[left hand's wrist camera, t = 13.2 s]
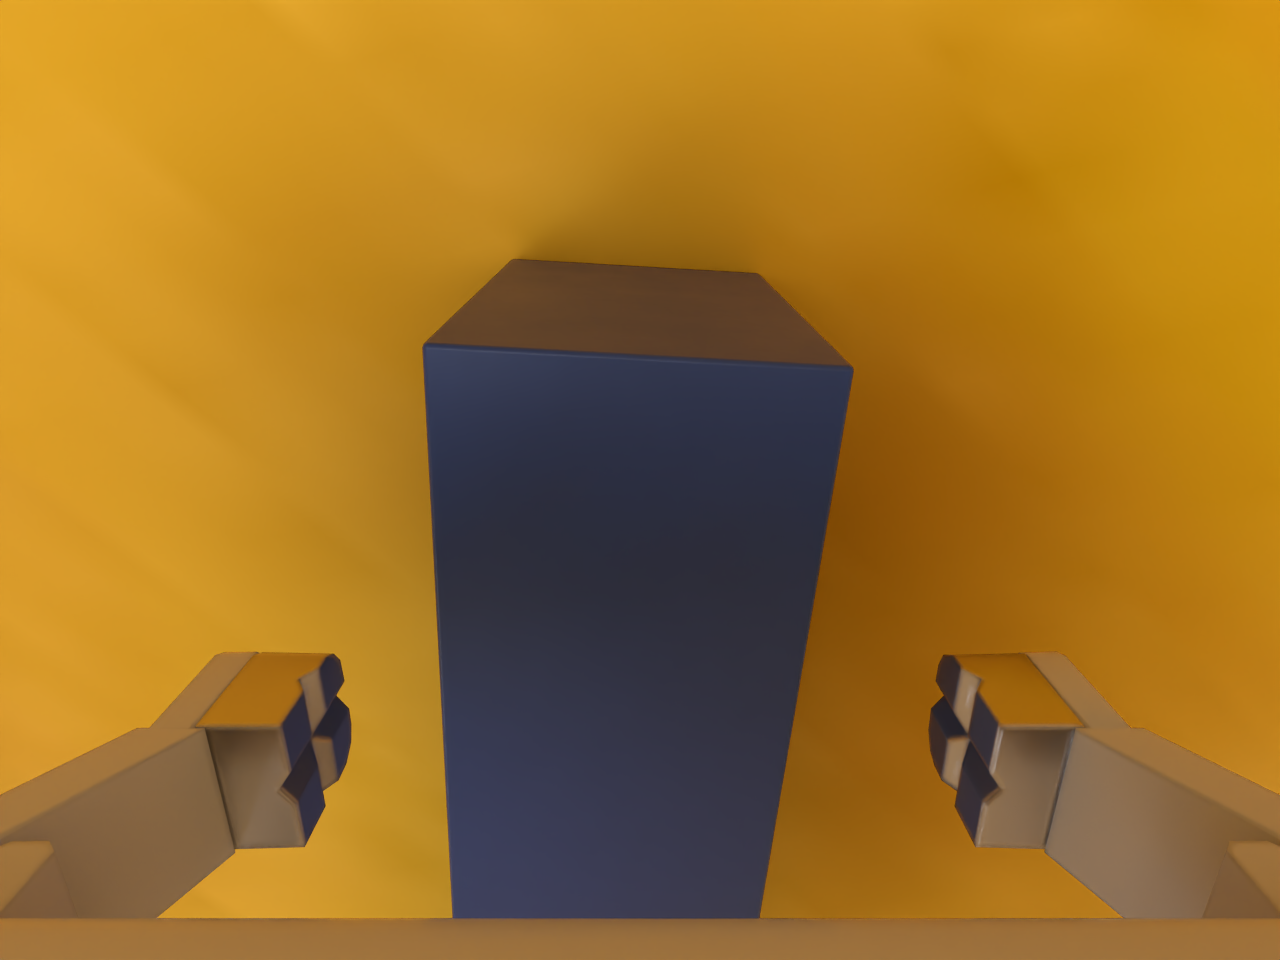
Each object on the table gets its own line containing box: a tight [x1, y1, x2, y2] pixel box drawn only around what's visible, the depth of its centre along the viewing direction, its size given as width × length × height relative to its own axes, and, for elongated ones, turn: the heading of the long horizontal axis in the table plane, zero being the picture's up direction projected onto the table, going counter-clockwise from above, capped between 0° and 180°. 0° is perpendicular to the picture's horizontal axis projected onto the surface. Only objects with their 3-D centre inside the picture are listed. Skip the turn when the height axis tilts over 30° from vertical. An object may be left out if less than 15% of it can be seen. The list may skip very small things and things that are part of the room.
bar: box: [422, 259, 854, 919], centre depth 20 cm, size 27×6×9 cm, turn 177°
